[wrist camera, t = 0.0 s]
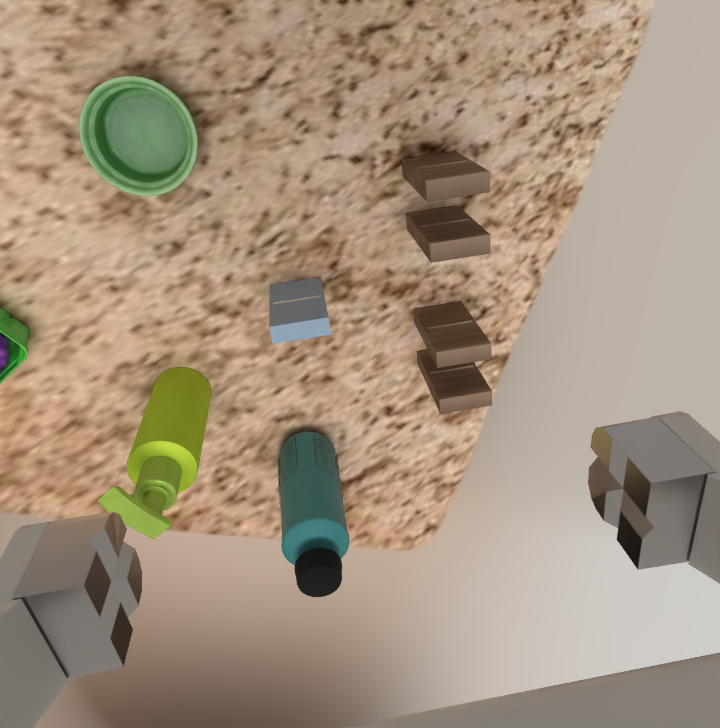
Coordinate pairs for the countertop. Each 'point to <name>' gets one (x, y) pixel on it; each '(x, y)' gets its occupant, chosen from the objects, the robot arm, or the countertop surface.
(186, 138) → the ramekin
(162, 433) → the soap dispenser
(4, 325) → the fruit basket
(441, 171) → the domino
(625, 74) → the countertop surface
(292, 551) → the beverage bottle
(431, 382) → the domino
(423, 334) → the domino
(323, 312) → the domino
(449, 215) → the domino
